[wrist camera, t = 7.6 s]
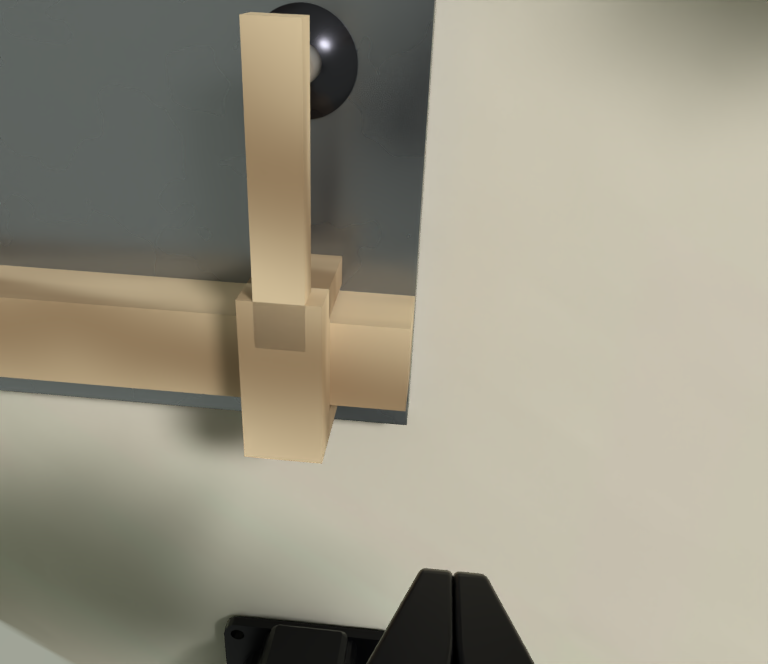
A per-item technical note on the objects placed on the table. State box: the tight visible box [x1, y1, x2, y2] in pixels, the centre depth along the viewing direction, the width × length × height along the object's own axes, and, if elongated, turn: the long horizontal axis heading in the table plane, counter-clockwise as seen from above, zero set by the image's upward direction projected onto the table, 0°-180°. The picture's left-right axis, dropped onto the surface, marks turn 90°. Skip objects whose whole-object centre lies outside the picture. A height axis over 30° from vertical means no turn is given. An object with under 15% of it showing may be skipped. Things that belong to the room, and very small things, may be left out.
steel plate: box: [0, 0, 436, 425], centre depth 19 cm, size 16×22×1 cm
